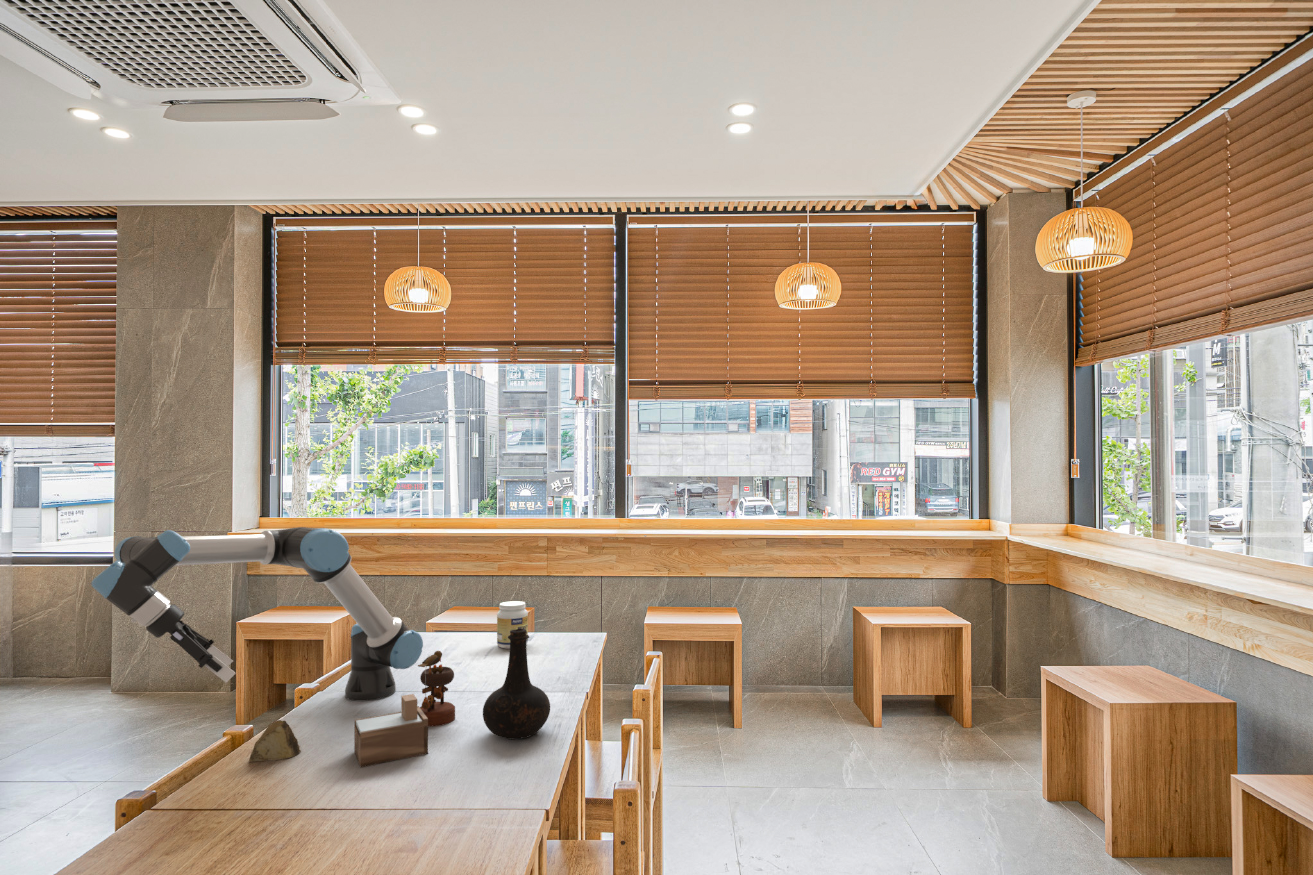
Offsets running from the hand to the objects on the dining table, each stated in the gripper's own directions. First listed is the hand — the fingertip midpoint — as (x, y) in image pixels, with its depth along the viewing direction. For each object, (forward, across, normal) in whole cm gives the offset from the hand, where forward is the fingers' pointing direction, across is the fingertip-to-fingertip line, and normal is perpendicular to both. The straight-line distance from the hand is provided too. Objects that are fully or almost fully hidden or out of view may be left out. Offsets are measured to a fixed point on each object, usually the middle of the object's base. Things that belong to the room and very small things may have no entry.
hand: (229, 671), depth 179 cm
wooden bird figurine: (+53, -6, +22) cm, 57 cm away
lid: (+36, +13, +14) cm, 40 cm away
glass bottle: (+63, +18, +32) cm, 73 cm away
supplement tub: (+86, -74, +58) cm, 127 cm away
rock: (+24, -1, -9) cm, 26 cm away
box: (+41, +12, +9) cm, 44 cm away
